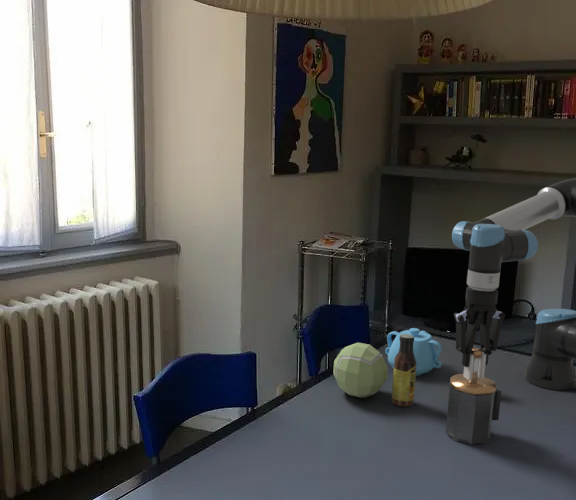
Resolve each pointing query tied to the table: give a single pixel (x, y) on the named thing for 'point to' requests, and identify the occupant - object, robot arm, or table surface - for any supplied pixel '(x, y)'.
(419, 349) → the decorative pot
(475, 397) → the press body
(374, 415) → the table surface
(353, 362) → the decorative sphere
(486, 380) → the plunger
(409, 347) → the sauce bottle
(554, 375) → the robot arm
